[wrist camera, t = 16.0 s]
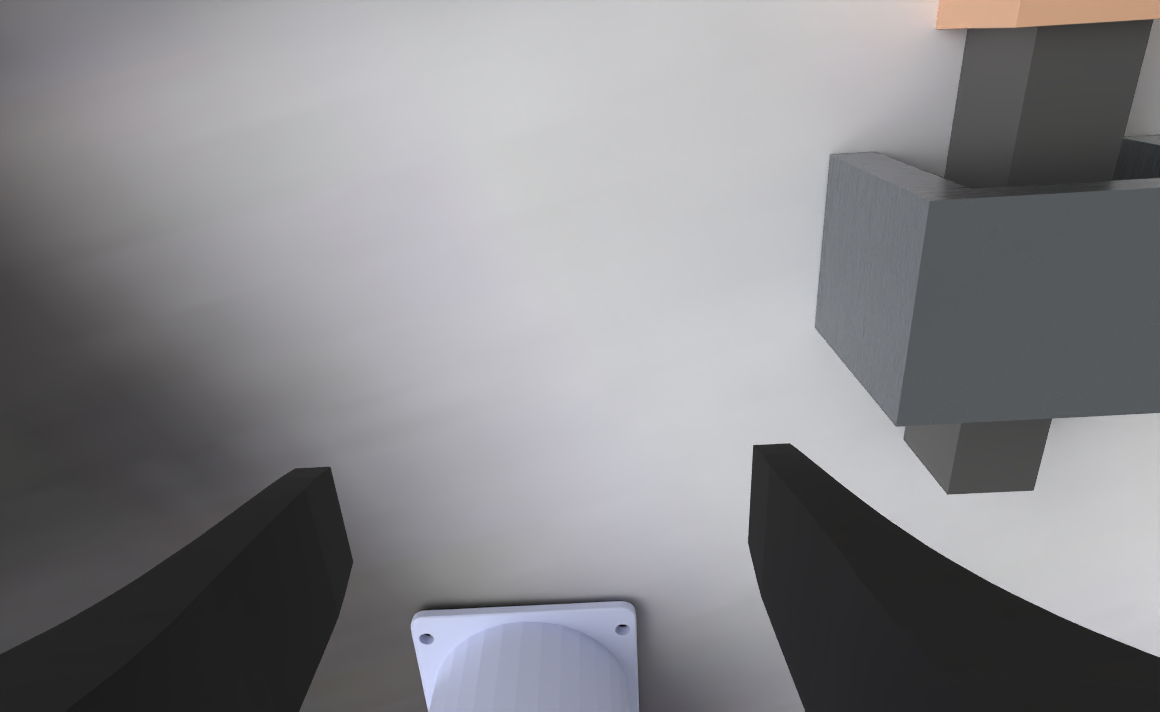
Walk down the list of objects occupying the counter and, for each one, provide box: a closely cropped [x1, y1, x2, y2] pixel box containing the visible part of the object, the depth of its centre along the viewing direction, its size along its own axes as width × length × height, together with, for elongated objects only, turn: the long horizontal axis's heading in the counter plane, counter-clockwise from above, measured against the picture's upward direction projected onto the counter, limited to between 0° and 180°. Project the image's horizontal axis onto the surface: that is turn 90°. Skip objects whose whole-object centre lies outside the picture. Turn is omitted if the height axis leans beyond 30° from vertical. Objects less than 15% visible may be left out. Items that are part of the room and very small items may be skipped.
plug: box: [904, 0, 1160, 494], centre depth 17 cm, size 17×4×4 cm, turn 3°
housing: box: [815, 135, 1160, 426], centre depth 17 cm, size 5×11×6 cm, turn 93°
